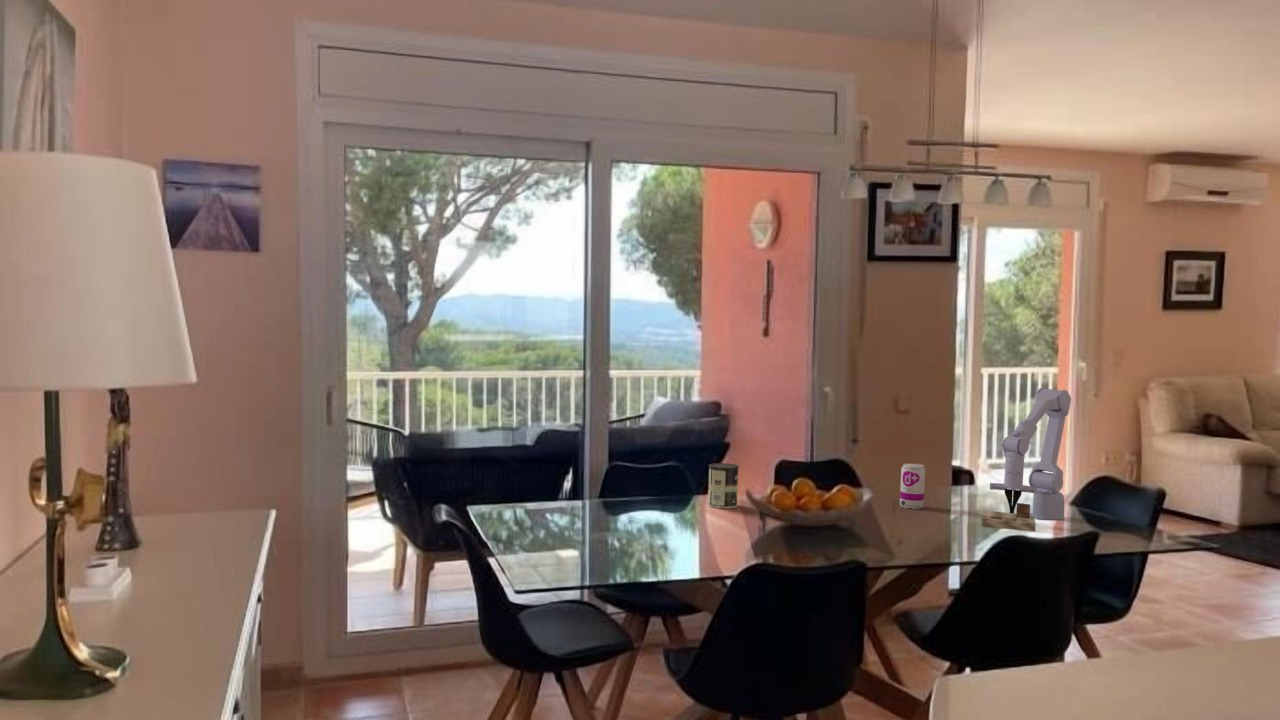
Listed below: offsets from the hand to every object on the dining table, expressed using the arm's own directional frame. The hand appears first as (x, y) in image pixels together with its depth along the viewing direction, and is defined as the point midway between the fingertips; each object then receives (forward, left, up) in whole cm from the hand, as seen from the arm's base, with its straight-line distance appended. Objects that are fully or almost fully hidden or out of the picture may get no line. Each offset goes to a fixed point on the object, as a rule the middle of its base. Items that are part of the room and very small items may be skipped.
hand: (1011, 512), depth 316 cm
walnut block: (-3, +1, -1) cm, 4 cm away
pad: (-4, +2, -3) cm, 6 cm away
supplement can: (+26, -22, -4) cm, 35 cm away
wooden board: (+2, +2, -3) cm, 4 cm away
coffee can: (+94, -17, -4) cm, 96 cm away
